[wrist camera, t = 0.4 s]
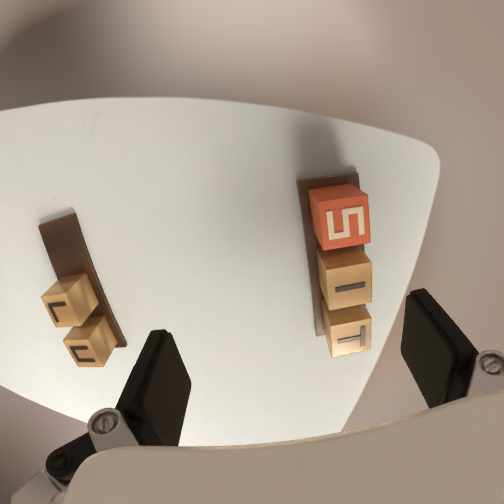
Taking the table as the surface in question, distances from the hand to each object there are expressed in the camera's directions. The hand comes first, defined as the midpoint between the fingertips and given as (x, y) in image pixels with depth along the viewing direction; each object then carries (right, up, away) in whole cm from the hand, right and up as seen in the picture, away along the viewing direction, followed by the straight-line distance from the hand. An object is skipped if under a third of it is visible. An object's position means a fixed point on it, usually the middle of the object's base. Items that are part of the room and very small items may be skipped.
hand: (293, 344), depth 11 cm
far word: (-22, -1, +22) cm, 32 cm away
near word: (+7, +3, +20) cm, 22 cm away
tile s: (+6, +8, +17) cm, 20 cm away
